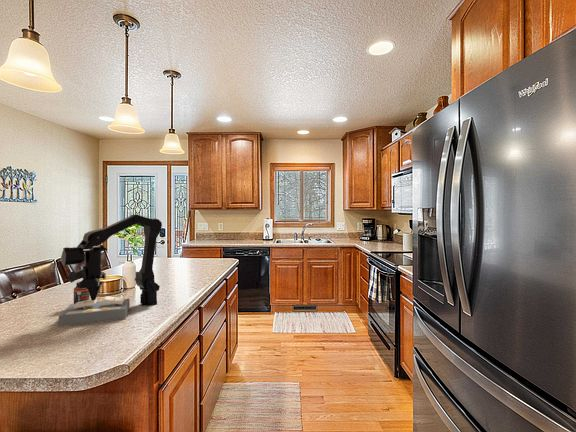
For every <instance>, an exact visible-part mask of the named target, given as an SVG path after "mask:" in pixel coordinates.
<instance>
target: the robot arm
mask: <svg viewBox="0 0 576 432" xmlns="http://www.w3.org/2000/svg"><path fill="white" fill-rule="evenodd" d="M162 223H163V222H162V221H161V220H160V219H158V218H150V217H146V216H142V215H140V214H137V213H136V214H130V215H129V216H127V217H126V218H123V219H120V220H119V221H117V222H114V223H112V224H110V225H108V226H106V227H101V228H97V229H93V230H91V231H87V232H85V233H84V234H83V237H82V240H81V241H80V243H79V244H78V245H77V246H73V247H68V246H67V247H63V248H62V249H63V250H62V252H61V255H60V259H61V260H60V261H61V264H62V266H71V265H73V266H74V265H81V264H82V263H83V262H84V266H82V269H79V270H72V271H70V272H68V275H67V280H68V281H69V282H70V284H71V283H74V282H75V281H76V282H77V281H78V280H81V282H80V281H79V282H80V283H79V288H87V289H88V291H89V294H90V296H89V298H90V299H91V300H95V299H96V298H98V295H99V292H100V290H101V289H102V288H101V287H102V285H103V283H104V281H101V280H100V279H103V280H106V278H107V275H106V273H105V272H104V271H102V269H103V263H102V261H103V260H102V258H103V257H102V252H103V251H107V250H108V248H106V247H105V246H104V244H103V243H104V242H106V241H108V239H109V238H111V237H112V236H114V235H116V234H118V233H120V232H122V231H124V230H127V229H128V228H131V227H132V226H135V225H137V226H140V227H142V228H143V234H144V237H145V239H144V244H143V253H142V259H141V260H142V261H141V268H140V269H139V271H135V278H134V281H135V284H136V286H137V287H139V289H140V290H141V293H140V296H139V297H140V300H139V301H140V304H141V307H143V306H144V307H145V306H154V305H157V304H158V292H159V290H160V288H161V287H160V285H159V284H158V283H157V282H155V273H154V270H153V268H154V266H153V265H154V259H155V252H156V245H157V239H158V236H159V235H160V233H161V230H162V226H163V224H162Z"/></svg>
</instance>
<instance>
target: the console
mask: <svg viewBox="0 0 576 432" xmlns="http://www.w3.org/2000/svg"><path fill="white" fill-rule="evenodd" d="M123 299H124V302H123V304H122V305H121V304H113V303H106V302H104V300H102V301H101V300H100V301H98V300H97V302H96V303H95V304H92V305H88V306H84V307H79V308H75V309H74V305H75V304H74V303H71V304H69V305H68V306H67V307H66V308H65V309H64V310H63V311H62V312H61V313H60V314H59V315H58V327H66V326H67V327H69V326H74V325H83V324H93V323H101V322H110V321H117V320H118V321H119V320H126V319H127V316H128V313H129V310H130V306H131V305H130V298H123Z"/></svg>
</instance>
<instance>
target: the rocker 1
mask: <svg viewBox="0 0 576 432" xmlns="http://www.w3.org/2000/svg"><path fill="white" fill-rule="evenodd" d="M96 302H98V297H96V299H95V300H91V298H89V300H85V301H81V302H77V303H76V304H75V305H74V309H75V308H79V307H84V306H88V305H92V304H95V303H96Z"/></svg>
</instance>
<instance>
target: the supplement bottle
mask: <svg viewBox="0 0 576 432" xmlns="http://www.w3.org/2000/svg"><path fill="white" fill-rule="evenodd" d="M81 281H82V280H81ZM81 281H80V280H79V281H76V282H75V283H76V284H75V285H76V286H74V288H73V304H76V303H77V302H81V301H85V300H89V299H90V294H89V291H88V289H87V288H79V283H80V282H81Z"/></svg>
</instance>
